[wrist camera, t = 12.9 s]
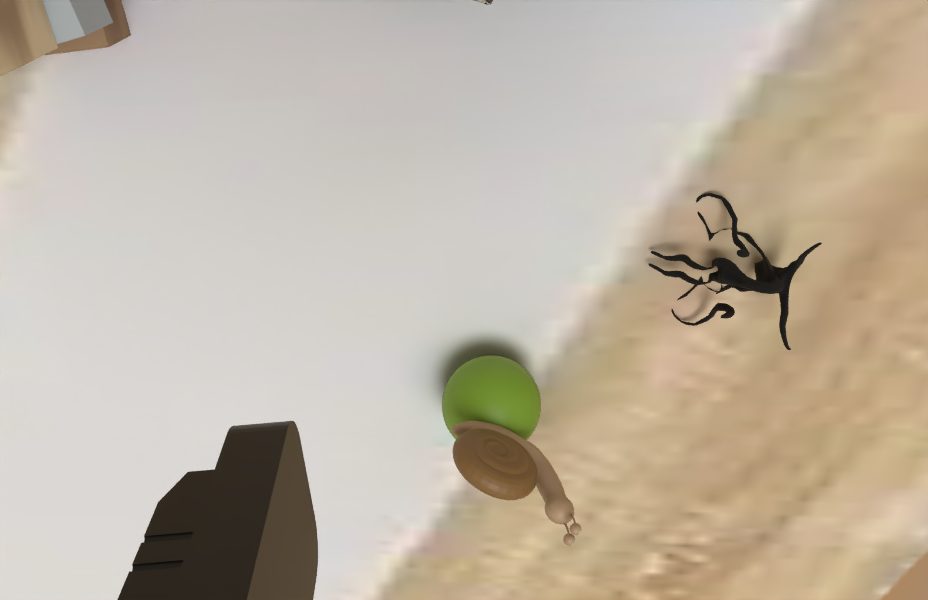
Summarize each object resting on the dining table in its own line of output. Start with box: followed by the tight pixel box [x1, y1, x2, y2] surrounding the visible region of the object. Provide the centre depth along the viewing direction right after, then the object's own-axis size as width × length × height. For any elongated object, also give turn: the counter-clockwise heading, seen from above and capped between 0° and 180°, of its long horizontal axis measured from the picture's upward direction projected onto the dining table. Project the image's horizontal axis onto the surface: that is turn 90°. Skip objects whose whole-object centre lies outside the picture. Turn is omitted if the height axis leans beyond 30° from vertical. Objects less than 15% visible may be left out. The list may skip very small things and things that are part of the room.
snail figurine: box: [442, 355, 581, 545], centre depth 45 cm, size 5×6×12 cm
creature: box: [649, 193, 822, 350], centre depth 45 cm, size 8×5×8 cm
